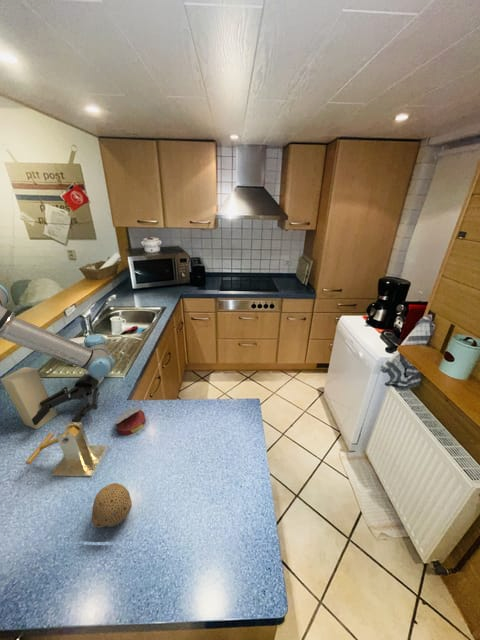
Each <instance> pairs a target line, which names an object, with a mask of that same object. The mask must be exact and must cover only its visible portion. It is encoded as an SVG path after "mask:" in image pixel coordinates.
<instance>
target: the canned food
mask: <svg viewBox="0 0 480 640" xmlns="http://www.w3.org/2000/svg"><path fill="white" fill-rule="evenodd" d="M114 424H115V426H116V428H117V431H118V433H120V434H121V435H125V436H127V435H133V434H136V433H137V432H139V431H140V430H142V429H143V428H144V426H145V425H146V414H145V412H144V411H142V406H141V407H140V406H136V407H134V408H130V409H129V410H127V411H124V412H122V413H121V414H120V415H118V417H117V418H116V419H115V420H114Z"/></svg>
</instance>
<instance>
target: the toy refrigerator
mask: <svg viewBox="0 0 480 640" xmlns="http://www.w3.org/2000/svg"><path fill="white" fill-rule="evenodd" d="M0 381H1V383H2V386H4V389H5V390H6V392H7V395H8V396H9V398H10V399H11V402H12V403H13V405H14V407H15V409H16V411H17V412H18V414H19V416H20V418H21V419H22V422H23V424H24V425H25V426H27V427H30V428H32V429H33V430H38V429H40V428H41V427H42V426H44V425H46V424H47V423H48V422H49V421H51V420H52V419H53V418H55V417H56V416H57V415H58V413H57V411H56V408H55V407H53V408H51V409H49V410H50V411H49V412H48V413H47V414H46V415H45V417H44V418H43V419H42V420H41V421H40V422H39V423H38V424H37V425H34V424H33V421H32V418H33V417H34V416H35V415H36V414H37V412H38V411H39V410H40V409H41V408H42V407H41V405H40V402H42V401H43V400H45V399H47V398H48V397H50V395H49V393H48V391H47V388H46V387H45V385H44V382H43V380H42V378H41V375H40V374H39V372H38V369H37V368H34V367H28V366H23V367H21V368H19V369H17V370H15V371H13V372H11V373H9V374H8V375H5V376H4V377H1V378H0Z"/></svg>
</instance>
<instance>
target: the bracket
mask: <svg viewBox="0 0 480 640" xmlns="http://www.w3.org/2000/svg"><path fill="white" fill-rule="evenodd" d="M64 426H65V428H66V430H67V429H69V428H71V427H73V426H74V427H75V428H76V429H77V430H78V431H79V432H78V434H77V435H76V437H74V434H68V433H65V432H64V433H63V432H62V433H61V432H59V433H57V435H55V436H56V437H55V438H57V439H58V442H57V443H58V444H59V446H60V449H61V451H62V453H63V457H62V458H61V459H60V461H59V462H58V463H57V465H56V467H55V468H54V470H53V471H52V472H51V474H50V475H51V476H52V477H80V478H81V477H84V478H85V477H86V478H87V477H90V478H92V477H93V475H94V473H95V471H96V469H97V467H98V466H99V465H100V463H101V460H102V459H103V457H104V455H105V453H106V451H107V450H108V447H109V446H108V445H90V443H89V440H88V437H87V435H86V431H85V429H84V426H83V423H82V422H79V423H77V422H72V421H70V422H69V421H67V422H66V423H65V424H64Z"/></svg>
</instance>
